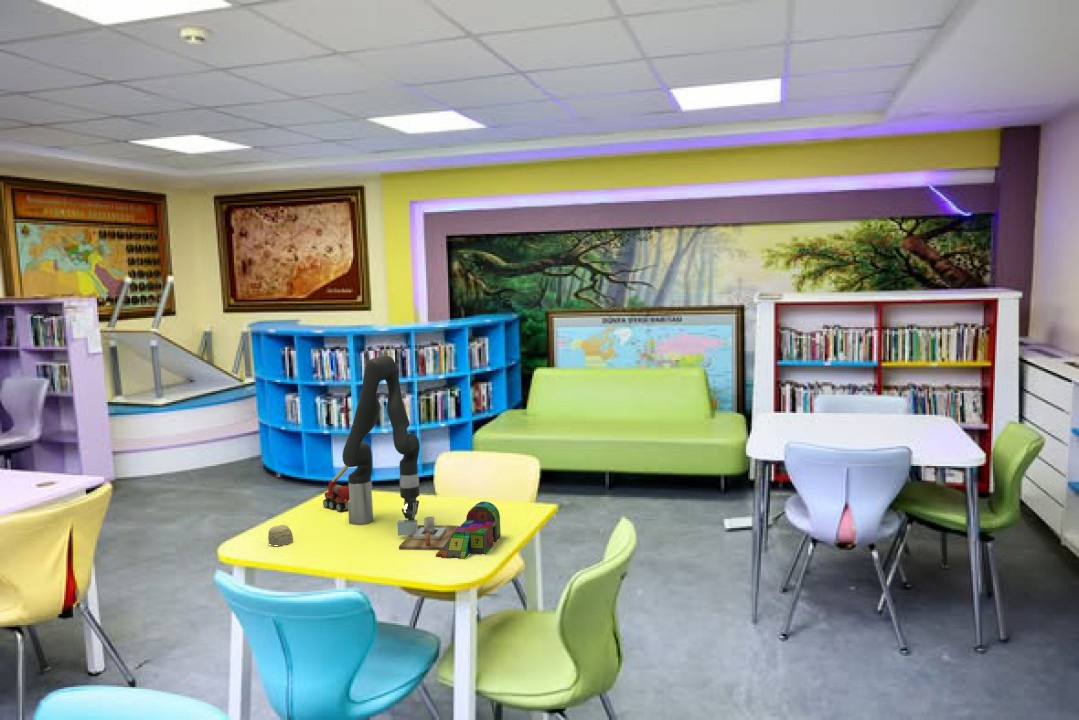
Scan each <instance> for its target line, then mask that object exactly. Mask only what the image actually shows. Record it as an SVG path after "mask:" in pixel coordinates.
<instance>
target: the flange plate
mask: <svg viewBox="0 0 1079 720" xmlns="http://www.w3.org/2000/svg"><path fill="white" fill-rule="evenodd" d="M396 523H397V524H396V525H397V527H396V528H397V536H400V537H401V536H403V537H404V536H406V537H408V536H413V539H425V534H424V533H425V530H424V527H421V528H420V529H419V530H418V525H419V523H418V519H415V520H408V519H398V520H397V521H396ZM445 532H446V528H435V533H436V534H430V539H434V540H440V538H441V537H442V536H443V534H444V533H445Z"/></svg>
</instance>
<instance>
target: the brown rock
mask: <svg viewBox="0 0 1079 720" xmlns="http://www.w3.org/2000/svg"><path fill="white" fill-rule="evenodd" d="M267 539H268V545H269V544H271V545H278V546H277V547H281V546H280V545H286V546H288V545H287V544H289V545H291V544H293V543H294V536H293V532H292V530H291V528H290V527H289V526H288V525H285V524H280V525H274V526H272V527H270V528H269V531H268V537H267ZM290 543H291V544H290Z"/></svg>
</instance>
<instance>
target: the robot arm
mask: <svg viewBox="0 0 1079 720" xmlns="http://www.w3.org/2000/svg"><path fill="white" fill-rule="evenodd" d="M398 373H399V372H398V368H397V364H396V362H395V360H394V358H393V357H391V356H390V355H381V356H378V357H373V358H371V359H369V360H368V361H367V362H366V364H365V367H364V372H363V379H362V386H361V391H360V394H359V399H358V403H357V406H356V409H355V412H354V417H353V421H352V425H351V427H350V428H351V429H350V432H349V435H348V436H347V439H346V441H345V444H344V447H343V450H342V462H343V464H344V466H345V465H346V466H347V467H348V468H355V467H356V469H355V470H354V471H352V472H351V473H350V474H349V475H348V477H347V479H348V480H347V481H348V486H349V499H350V500H349V501H348V509H347V510H348V511H347V512H348V523H349V524H352V525H367V524H370V523H372V522H374V513H373V512H374V510H373V508H374V507H373V492H372V491H373V490H372V489H373V488H372V474H373V453H372V448H371V446H370V444H368V442H363V441H364V439H365V438H366V437H367V436H368V435H369V433H370V432H371V431H372V430H373V429H374V428H375V426H376V424H377V422H378V419H379V416H380V412H381V403H380V400H379V398H378V395H377V393H378V387H379V386H380V385H379V384H380V383H381V382H382V381H385V383H386V387H387V390H388V391H387V402H386V403H387V404H386V412H387V416H388V419H389V422H390V424H391V428H392V441H393V445H394V449H395V450H396V451H397V453H398V454H401V455H403V457H402V459H401V460H399V463H398V464H399V466H398V467H399V491H400V492H399V494H400V498H402V499H403V500H404V502H403V506H404V507H403V508H401V512H402V515H403V516H404V518H405V520H416V519H415V518H416V515H417V514H418V509H419V506H420V505H419V504H420V500H419V499H417V498H418V497H419V496H420V477H419V471H418V460H419V457H420V455H419V454H420V447H421V446H420V445H421V444H420V440H419V437H418V436H417V435H416V434H414V433H408V428H409V427H410V419H409V416H408V414H407V410H406V408H405V404H404V401H403V397H402V389H401V384H400V379H399V378H400V377H399V374H398Z"/></svg>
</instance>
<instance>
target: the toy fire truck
mask: <svg viewBox="0 0 1079 720" xmlns="http://www.w3.org/2000/svg"><path fill="white" fill-rule="evenodd" d="M348 469H349V467H347V466H346V465H345V464H344V465H343V467H342V468H341V469H340V470H339V471H338V472H337V474H335V476H334V478H333V479H332V480H329V481H328V488H327V489H328V490H327V492H325V493H324V498H325V499H323V500H322V505H323V508H324V509H330V510H331V511H332V510H336V511H337V513H341V512H344V511H346V510H348V501H349V500H350V499H349V485H345V486H343V485H340V484H339V483H337V481H338V480H339V479H341V477H342V476H343V475H344V473H346V471H347V470H348Z"/></svg>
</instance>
